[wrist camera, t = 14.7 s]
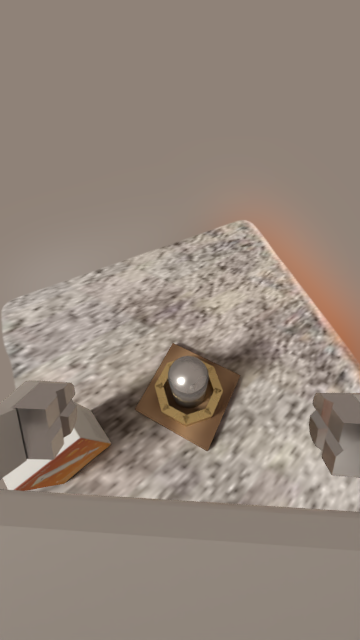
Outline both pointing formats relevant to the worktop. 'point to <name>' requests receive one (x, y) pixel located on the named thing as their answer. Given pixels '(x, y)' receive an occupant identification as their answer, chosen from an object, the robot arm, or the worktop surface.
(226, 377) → the board
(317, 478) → the worktop surface
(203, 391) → the grey metal cylinder
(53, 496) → the robot arm
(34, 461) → the small box
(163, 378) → the ring
